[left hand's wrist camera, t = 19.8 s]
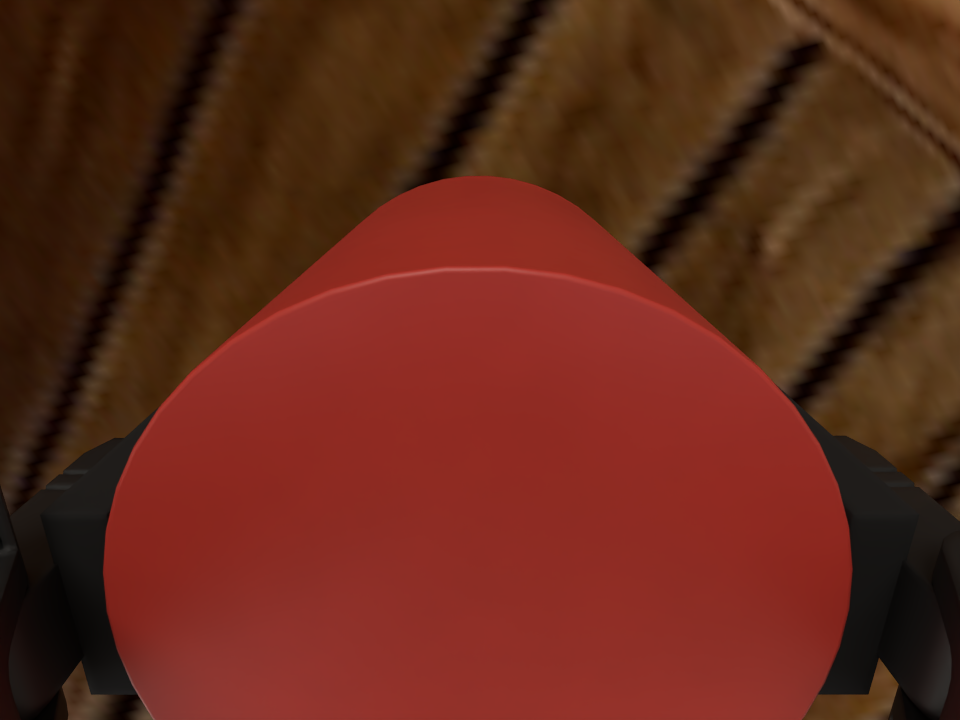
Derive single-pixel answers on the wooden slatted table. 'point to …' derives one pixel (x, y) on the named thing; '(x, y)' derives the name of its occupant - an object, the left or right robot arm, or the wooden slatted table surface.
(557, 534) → the can
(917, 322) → the wooden slatted table surface
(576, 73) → the wooden slatted table surface
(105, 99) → the wooden slatted table surface
